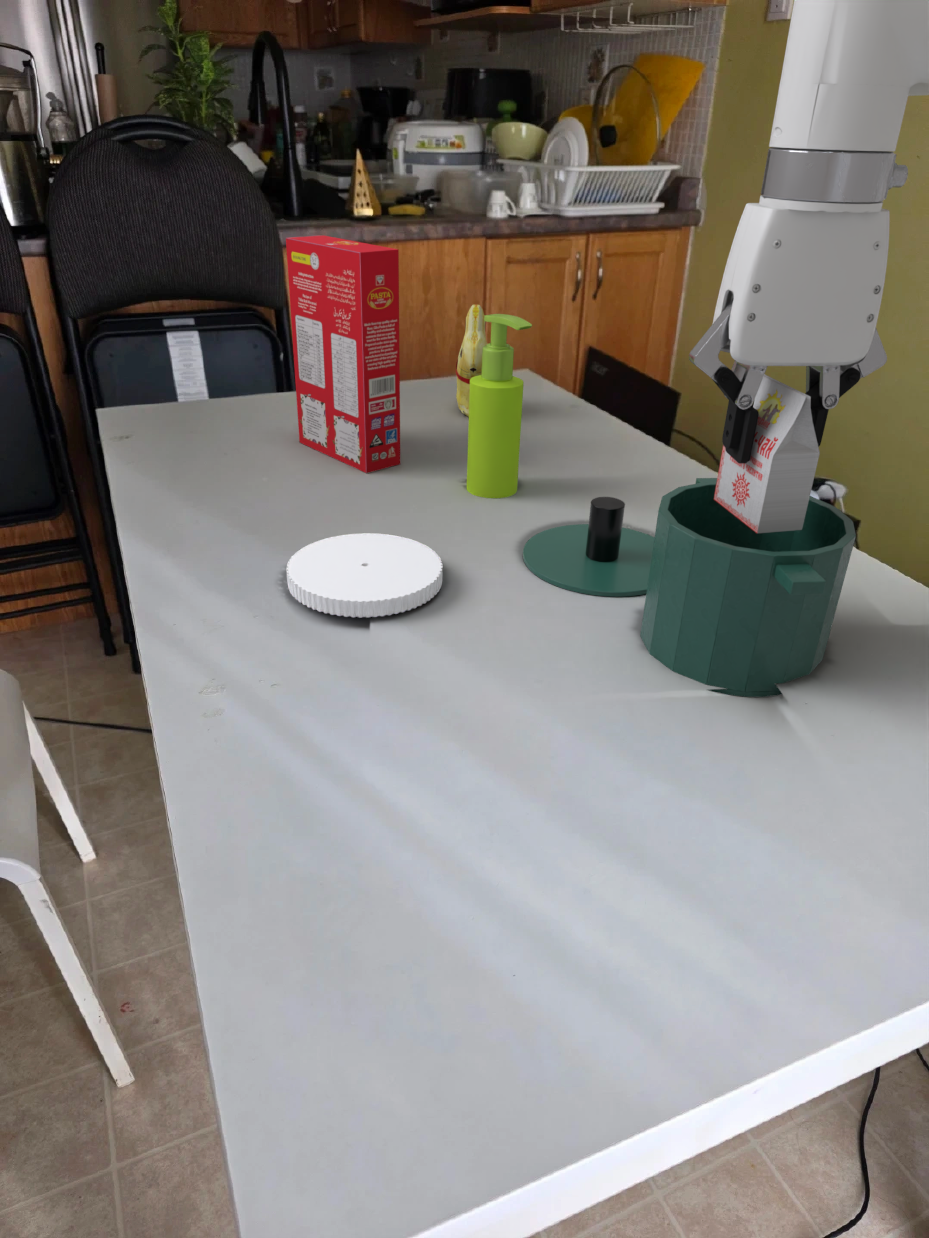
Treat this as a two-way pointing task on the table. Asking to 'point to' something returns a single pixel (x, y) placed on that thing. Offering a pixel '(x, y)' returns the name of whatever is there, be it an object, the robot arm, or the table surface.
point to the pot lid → (593, 554)
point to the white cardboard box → (773, 463)
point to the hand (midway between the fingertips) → (768, 454)
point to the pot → (742, 592)
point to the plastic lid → (364, 575)
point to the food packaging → (346, 348)
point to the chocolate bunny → (470, 355)
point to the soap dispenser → (495, 415)
